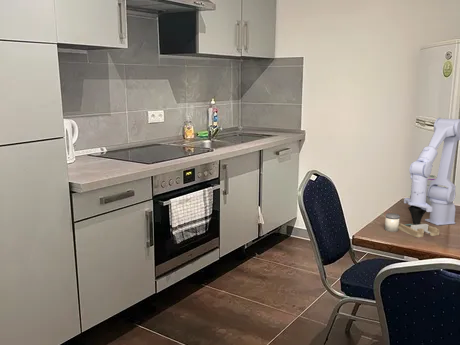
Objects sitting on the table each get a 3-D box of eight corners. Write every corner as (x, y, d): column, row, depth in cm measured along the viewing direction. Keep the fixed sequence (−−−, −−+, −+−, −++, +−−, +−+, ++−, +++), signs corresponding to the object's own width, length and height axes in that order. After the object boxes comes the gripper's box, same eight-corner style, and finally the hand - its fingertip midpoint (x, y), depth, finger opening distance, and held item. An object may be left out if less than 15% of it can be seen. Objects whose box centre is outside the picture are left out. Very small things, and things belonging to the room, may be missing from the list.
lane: (413, 224, 193) (414, 217, 192) (439, 235, 179) (439, 227, 178) (392, 226, 190) (392, 219, 190) (416, 237, 176) (416, 230, 175)
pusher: (425, 230, 184) (426, 223, 183) (437, 235, 177) (437, 228, 177) (410, 232, 182) (410, 225, 181) (421, 237, 176) (421, 230, 175)
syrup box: (436, 207, 220) (438, 177, 217) (423, 206, 221) (425, 177, 218) (433, 204, 225) (435, 175, 223) (420, 203, 226) (423, 174, 224)
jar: (391, 226, 189) (392, 212, 187) (401, 230, 184) (402, 216, 183) (381, 228, 187) (382, 214, 185) (391, 232, 182) (392, 218, 180)
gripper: (398, 188, 187) (396, 220, 189) (422, 196, 173) (419, 231, 176) (413, 187, 189) (411, 218, 191) (438, 195, 175) (435, 229, 178)
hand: (416, 224), depth 184 cm, fingers closed
